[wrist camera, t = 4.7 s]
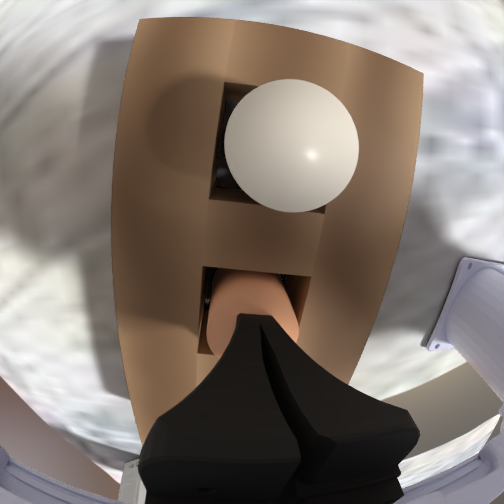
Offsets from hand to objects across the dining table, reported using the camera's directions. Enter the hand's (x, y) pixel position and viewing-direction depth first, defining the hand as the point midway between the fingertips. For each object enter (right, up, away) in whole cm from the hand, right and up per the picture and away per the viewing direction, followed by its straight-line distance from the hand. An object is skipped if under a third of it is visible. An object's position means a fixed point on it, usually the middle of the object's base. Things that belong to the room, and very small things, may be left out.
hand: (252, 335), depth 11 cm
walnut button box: (0, +2, +5) cm, 5 cm away
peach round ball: (0, +1, +4) cm, 4 cm away
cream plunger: (+1, +7, 0) cm, 7 cm away
